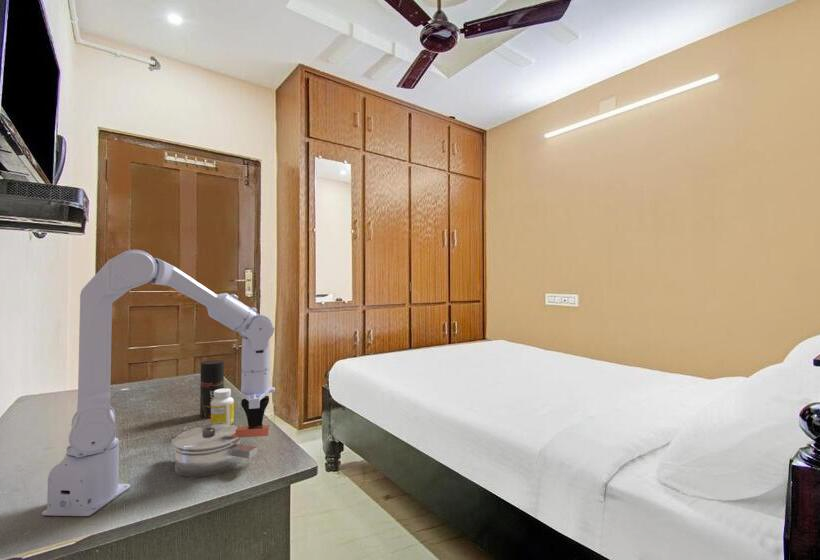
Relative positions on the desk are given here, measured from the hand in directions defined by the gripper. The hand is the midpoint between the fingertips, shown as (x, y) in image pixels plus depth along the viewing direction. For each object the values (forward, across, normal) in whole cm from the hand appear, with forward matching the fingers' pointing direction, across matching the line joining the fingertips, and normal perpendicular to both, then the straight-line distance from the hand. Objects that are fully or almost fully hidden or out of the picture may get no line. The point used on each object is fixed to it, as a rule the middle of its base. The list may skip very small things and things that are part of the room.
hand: (255, 431), depth 87 cm
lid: (0, -1, +6) cm, 6 cm away
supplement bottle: (+6, +21, +9) cm, 23 cm away
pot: (+5, -1, +8) cm, 10 cm away
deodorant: (+6, +33, +13) cm, 36 cm away
